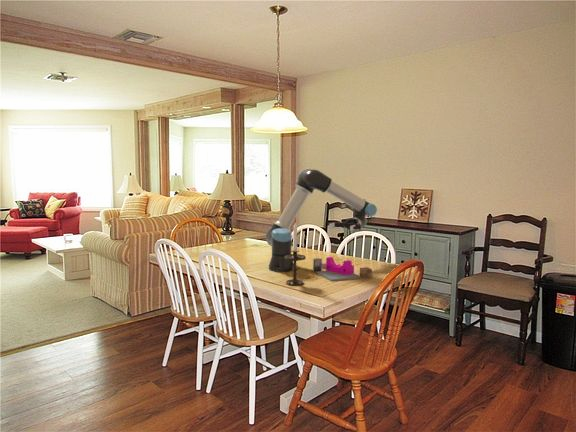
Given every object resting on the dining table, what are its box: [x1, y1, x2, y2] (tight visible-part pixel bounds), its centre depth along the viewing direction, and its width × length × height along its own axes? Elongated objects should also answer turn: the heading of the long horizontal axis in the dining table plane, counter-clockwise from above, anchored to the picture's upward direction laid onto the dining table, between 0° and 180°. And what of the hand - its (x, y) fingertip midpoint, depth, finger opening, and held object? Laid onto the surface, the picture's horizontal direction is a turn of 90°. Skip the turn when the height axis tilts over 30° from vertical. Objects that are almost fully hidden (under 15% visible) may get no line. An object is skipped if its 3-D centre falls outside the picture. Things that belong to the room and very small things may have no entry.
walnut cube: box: [359, 266, 373, 280], centre depth 231 cm, size 5×5×5 cm
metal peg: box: [312, 257, 323, 273], centre depth 244 cm, size 5×5×7 cm
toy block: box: [325, 256, 355, 275], centre depth 238 cm, size 15×6×8 cm, turn 47°
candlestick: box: [285, 218, 306, 287], centre depth 215 cm, size 11×11×35 cm
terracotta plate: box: [322, 261, 326, 269], centre depth 253 cm, size 8×5×3 cm, turn 85°
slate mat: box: [316, 270, 362, 282], centre depth 234 cm, size 18×18×1 cm
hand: (339, 227), depth 246 cm, fingers open, 13 cm apart
